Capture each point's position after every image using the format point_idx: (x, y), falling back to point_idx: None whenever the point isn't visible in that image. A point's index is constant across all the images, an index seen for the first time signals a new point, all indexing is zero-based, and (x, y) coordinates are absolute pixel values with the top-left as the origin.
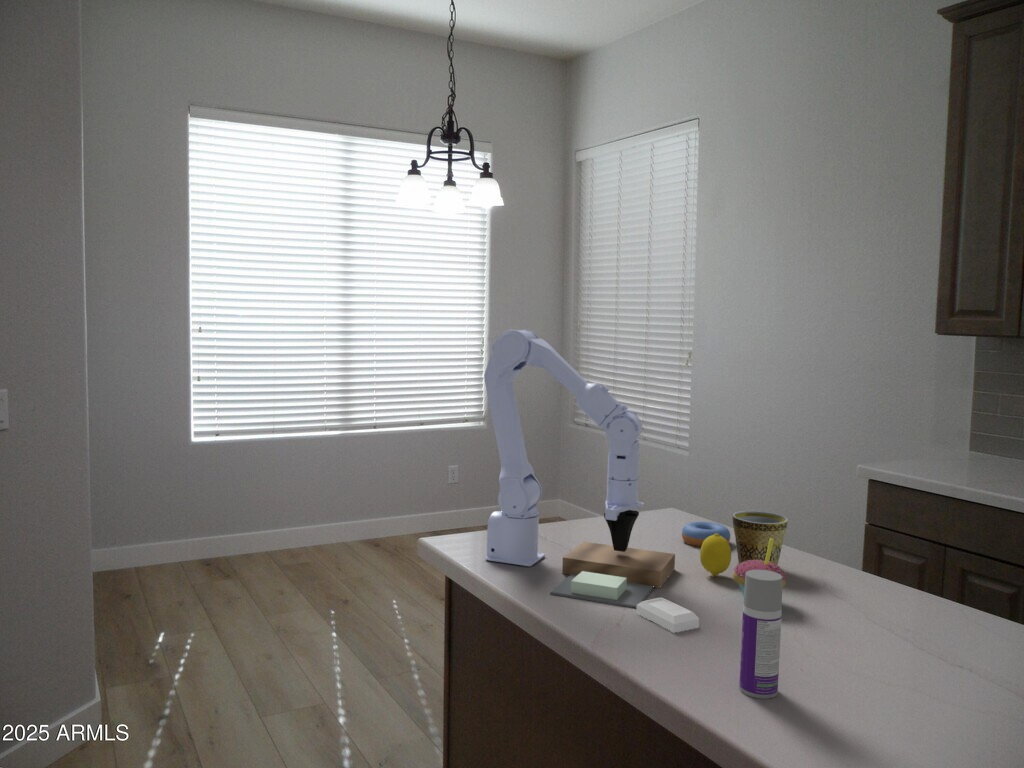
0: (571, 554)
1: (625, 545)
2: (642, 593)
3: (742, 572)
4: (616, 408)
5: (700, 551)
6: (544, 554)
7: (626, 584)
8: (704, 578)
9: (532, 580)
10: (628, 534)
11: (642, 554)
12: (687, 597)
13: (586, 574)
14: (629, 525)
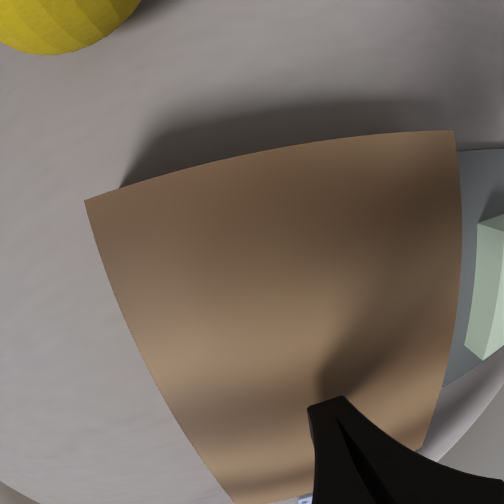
0: None
1: (361, 413)
2: (484, 163)
3: None
4: None
5: (83, 9)
6: (304, 498)
7: (487, 226)
8: (153, 30)
9: (453, 410)
10: (385, 455)
11: (240, 345)
12: (413, 31)
13: (500, 335)
14: (469, 474)
